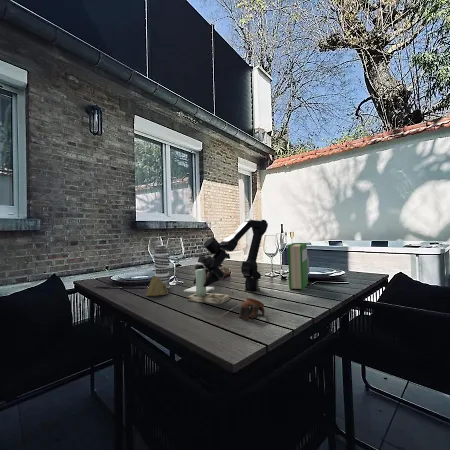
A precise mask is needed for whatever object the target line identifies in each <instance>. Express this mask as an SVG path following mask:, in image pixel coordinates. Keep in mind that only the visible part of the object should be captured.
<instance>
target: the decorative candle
mask: <svg viewBox="0 0 450 450" xmlns="http://www.w3.org/2000/svg"><path fill="white" fill-rule="evenodd" d="M153 258H154V259H153V261H154V262H153V264H154V269H155V273H154V274H155V275H154V276H157V277H158V278H159V279H160V280H161V281H162V282H163V283H164V284H165V285H166V288H168V289H170V284H171V282H170V281H171V280H170V277H171V276H170V272H169V269H170V264H169V263H170V261H169V260H170V259H171V258H170V255H169V248H168V246H167V245H164V244H162V245H156V246H155V247H154V255H153Z"/></svg>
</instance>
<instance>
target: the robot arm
mask: <svg viewBox="0 0 450 450" xmlns="http://www.w3.org/2000/svg"><path fill="white" fill-rule="evenodd" d="M268 227H269V223H268V221H267V220H266V219H255V220H254V219H245V220H243V222H242V223H241V225H239V226H238V227H237V228H236V229H235V231H234V232H233V233H232V234H230V236H227V237H225V238H224V239H223V240H221V242H218V240H217V239H216V237H214V236H211V237H210V238H209V239H207V240H205V241H204V243H203V247H204V248H205V249H206V250H207V251H208V253H209V254H211V255H213V256H211V255H207V256H203V255H199V257H198V258H197V263H200V264H196V265H195V267H194V270H195V271H196V270H198V269H205V270H206V275H207V274H208V277H206V282H205V284H204V287H209V286H210V285H212V284H213V283H216V282H217V281H220V280H223V278H224V277H225V273H224V272H223V271H222V270H221V269H220V268H222V267H223V265H222V264H223V263H224V261H225V259H226V260H230V259H231V255H230V253H228V252H233V251H235V249H236V247H238V243H239V241H240V239H242V237H244V235H245V234H246V233H247V232H248V231H249V230H250V229H251V230H252V239H251V243H250V247H249V250H248V254H247V259H246V260H243V261H242V262H241V267H240V269H241V270H240V271H241V274H242V275H243V276H242V277H243V278H244V279H245V281H244V284H245V285H244V286H245V289H244V290H245V291H250V292H257V291H259V290H260V289H261V288H260V287H259V286H260V285H259V280H261V277H262V274H261V273H260V271H258V263H257V259H258V254H259V251H260V246H261V243H262V238H263V236H264V234H266V232H267V229H268ZM192 284H193V285H196V276H195V277H194V280H193V283H192Z"/></svg>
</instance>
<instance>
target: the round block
mask: <svg viewBox="0 0 450 450" xmlns="http://www.w3.org/2000/svg"><path fill="white" fill-rule="evenodd" d="M206 276H207V274H206V270H205V269H198V270H195V277H196V284H195V286H196V297H206V293H207V292H206V287H204V284H205V282H206V280H207V277H206Z"/></svg>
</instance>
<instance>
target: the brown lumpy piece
mask: <svg viewBox="0 0 450 450" xmlns="http://www.w3.org/2000/svg"><path fill="white" fill-rule="evenodd" d="M264 307H265V303H263V302H261V301H259V300H258V299H256V298H255V299H254V298H251V297H246V300H244V301H243V302H242V304H241V307H240V310H239V315H238V318H241V319H243V320H244V321H245V320H246V321H249V320H250V318H251V319H257V316H258V312H259V311H260V312H261V316H262V317H263V316H265V308H264Z"/></svg>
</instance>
